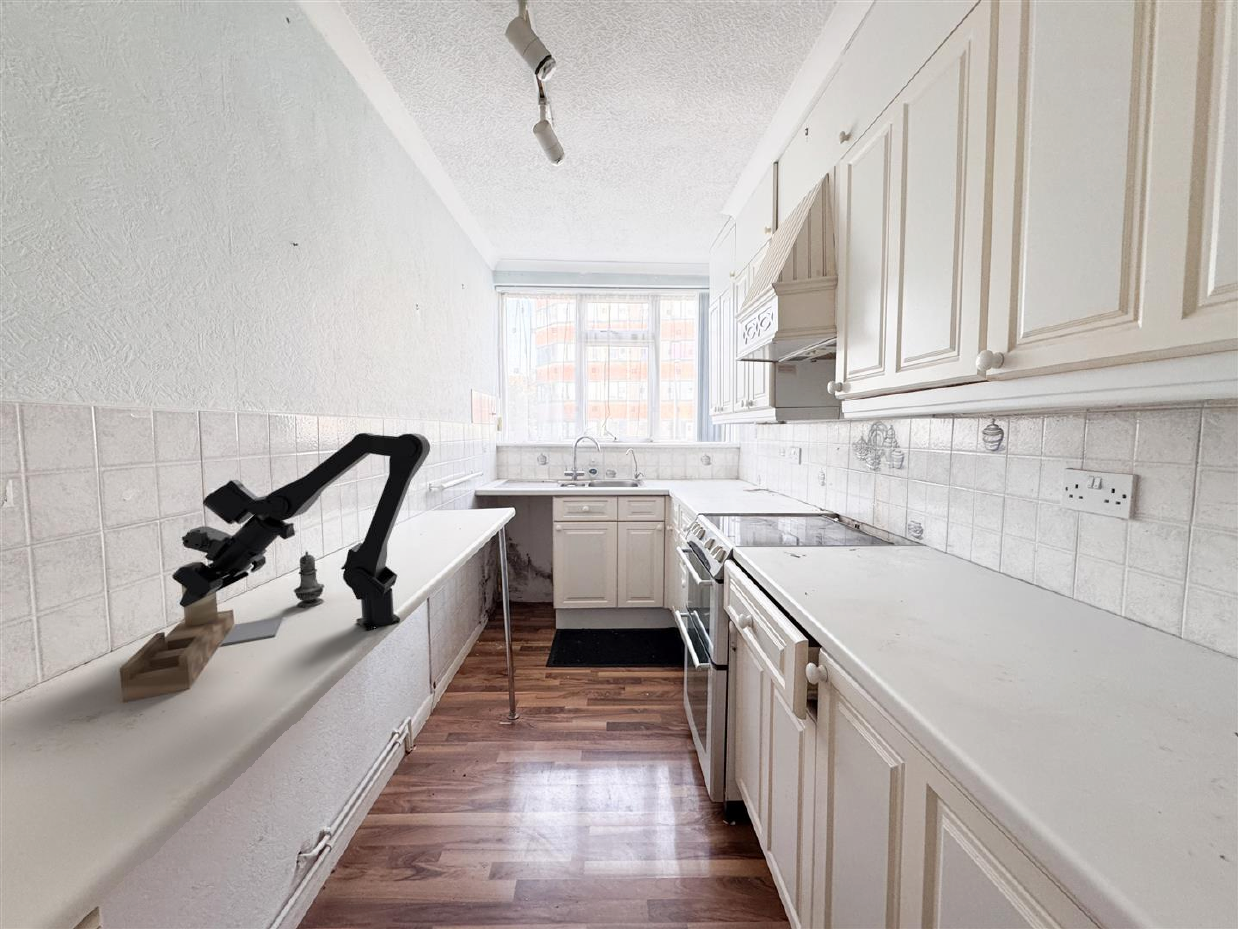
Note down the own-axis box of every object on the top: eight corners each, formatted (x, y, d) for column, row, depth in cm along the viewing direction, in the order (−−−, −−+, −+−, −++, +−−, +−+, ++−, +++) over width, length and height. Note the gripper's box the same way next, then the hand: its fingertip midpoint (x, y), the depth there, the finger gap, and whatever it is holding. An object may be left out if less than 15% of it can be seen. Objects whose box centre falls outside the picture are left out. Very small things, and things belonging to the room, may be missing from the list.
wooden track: (186, 632, 95) (184, 607, 95) (234, 624, 99) (232, 600, 98) (122, 702, 70) (119, 668, 70) (189, 688, 74) (186, 656, 73)
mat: (234, 626, 98) (234, 624, 98) (283, 618, 101) (282, 616, 101) (221, 645, 89) (221, 643, 89) (275, 636, 92) (274, 634, 92)
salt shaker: (331, 599, 113) (327, 548, 112) (313, 608, 107) (309, 554, 106) (307, 598, 113) (304, 548, 112) (288, 608, 107) (284, 554, 106)
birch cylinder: (219, 620, 93) (215, 579, 92) (185, 627, 90) (182, 585, 89) (216, 613, 96) (213, 574, 96) (184, 620, 93) (180, 579, 92)
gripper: (245, 504, 101) (189, 560, 100) (180, 521, 83) (111, 589, 82) (289, 539, 103) (235, 594, 102) (235, 563, 85) (169, 631, 84)
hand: (191, 600), depth 93 cm, fingers closed on birch cylinder, 5 cm apart
